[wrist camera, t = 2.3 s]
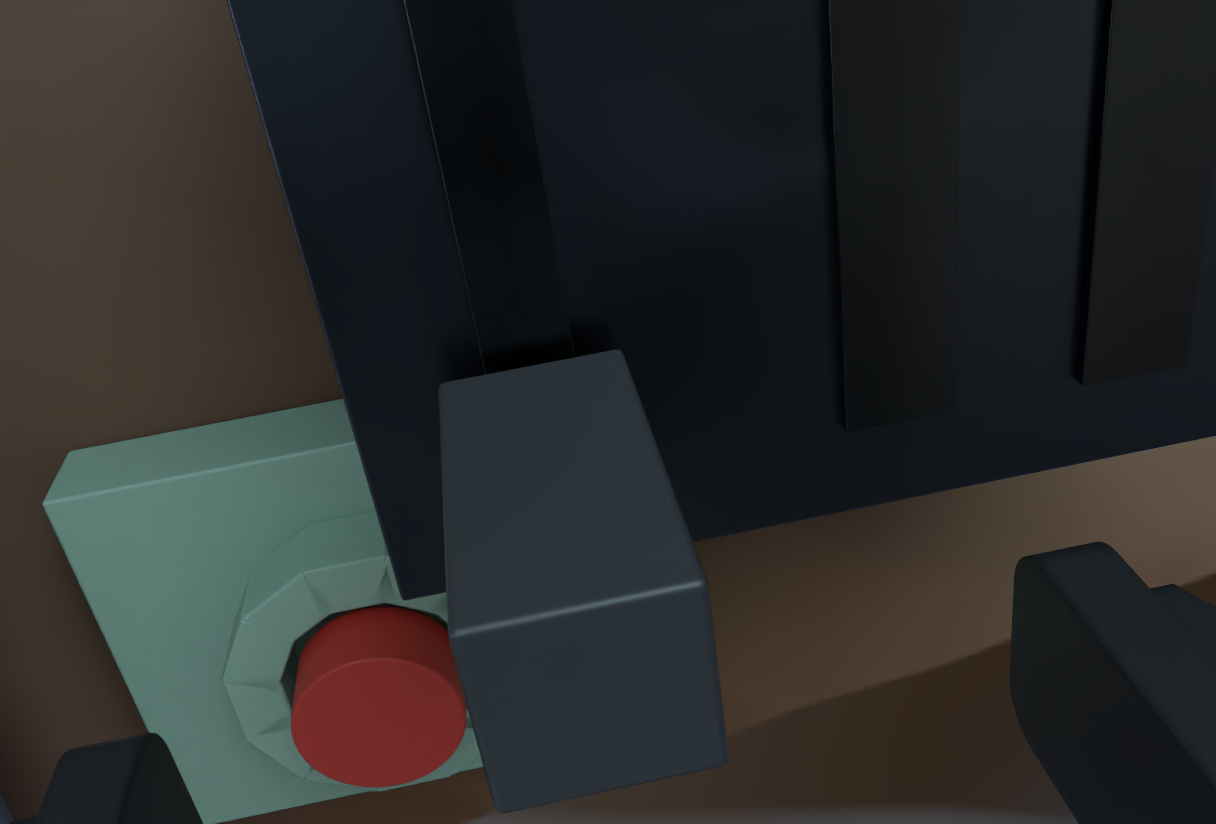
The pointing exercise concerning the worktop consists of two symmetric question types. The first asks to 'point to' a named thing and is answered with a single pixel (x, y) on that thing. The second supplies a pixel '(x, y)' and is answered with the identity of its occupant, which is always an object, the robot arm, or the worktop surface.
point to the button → (378, 698)
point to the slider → (573, 586)
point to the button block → (231, 589)
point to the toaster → (757, 232)
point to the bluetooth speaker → (5, 812)
